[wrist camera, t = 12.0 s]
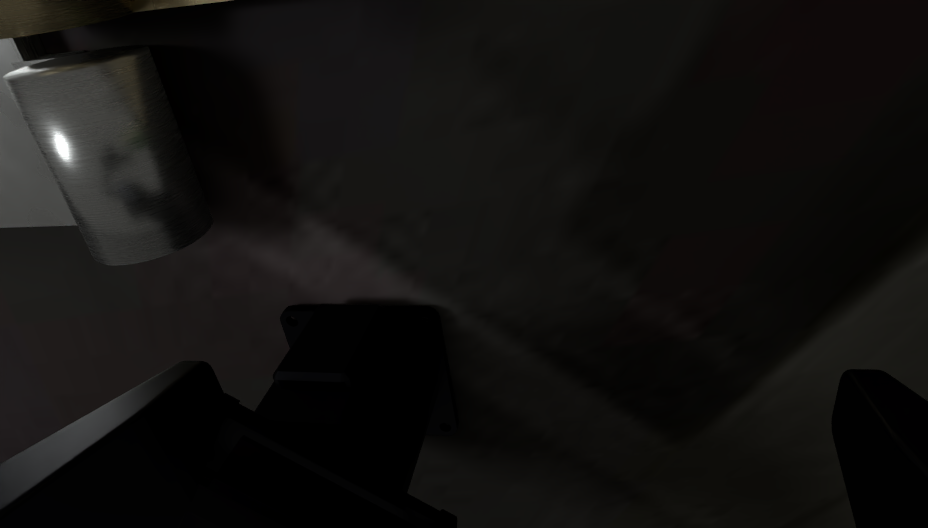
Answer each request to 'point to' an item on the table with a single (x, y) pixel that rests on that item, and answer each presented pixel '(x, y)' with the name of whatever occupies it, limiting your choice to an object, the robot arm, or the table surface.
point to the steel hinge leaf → (96, 151)
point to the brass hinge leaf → (72, 13)
